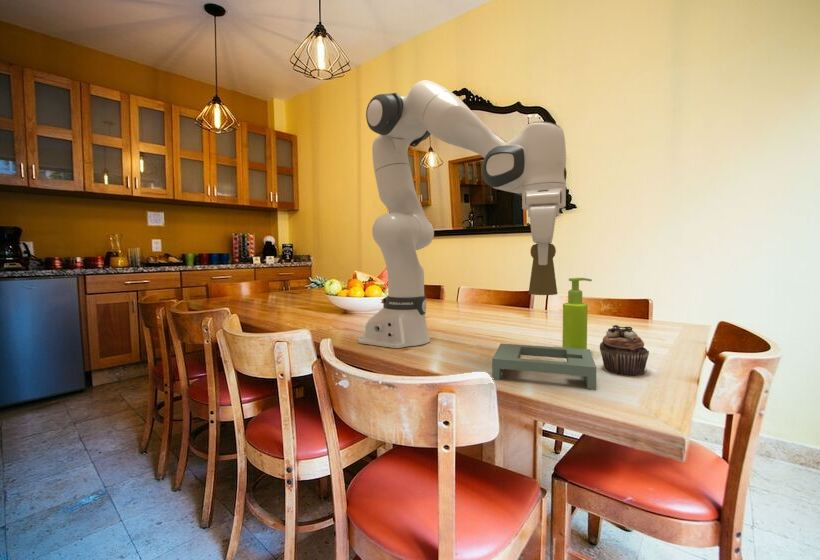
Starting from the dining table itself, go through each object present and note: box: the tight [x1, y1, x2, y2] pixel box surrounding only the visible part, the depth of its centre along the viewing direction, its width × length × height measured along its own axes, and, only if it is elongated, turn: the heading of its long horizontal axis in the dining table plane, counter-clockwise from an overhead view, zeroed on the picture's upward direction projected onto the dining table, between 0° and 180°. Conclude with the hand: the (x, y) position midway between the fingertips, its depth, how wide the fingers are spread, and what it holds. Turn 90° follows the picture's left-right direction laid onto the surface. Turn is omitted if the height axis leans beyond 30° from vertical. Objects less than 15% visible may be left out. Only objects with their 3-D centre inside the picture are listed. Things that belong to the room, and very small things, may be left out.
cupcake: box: [599, 324, 650, 377], centre depth 84 cm, size 10×10×10 cm
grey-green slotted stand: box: [491, 342, 597, 391], centre depth 83 cm, size 20×14×4 cm
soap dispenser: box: [562, 277, 593, 349], centre depth 98 cm, size 6×7×20 cm
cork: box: [528, 243, 558, 296], centre depth 81 cm, size 6×6×11 cm
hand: (543, 264), depth 81 cm, fingers closed on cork, 4 cm apart
